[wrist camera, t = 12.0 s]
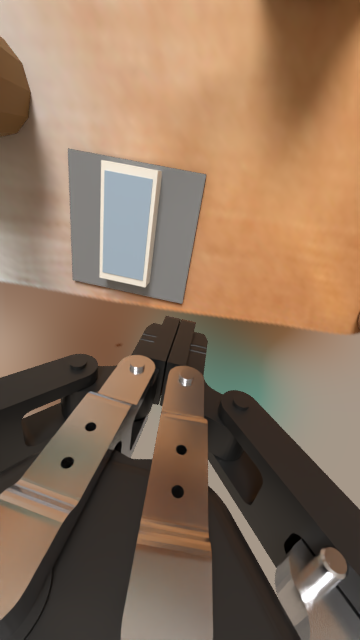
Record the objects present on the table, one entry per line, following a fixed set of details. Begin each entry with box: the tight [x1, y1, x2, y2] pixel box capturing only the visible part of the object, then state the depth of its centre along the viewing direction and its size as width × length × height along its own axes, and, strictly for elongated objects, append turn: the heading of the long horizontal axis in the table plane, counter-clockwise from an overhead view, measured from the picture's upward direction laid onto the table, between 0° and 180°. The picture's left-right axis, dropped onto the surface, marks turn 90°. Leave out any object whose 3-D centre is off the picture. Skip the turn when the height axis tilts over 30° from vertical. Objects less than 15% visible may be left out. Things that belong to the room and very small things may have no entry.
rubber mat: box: [68, 149, 206, 304], centre depth 38 cm, size 18×18×1 cm
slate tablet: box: [99, 160, 162, 287], centre depth 36 cm, size 7×3×15 cm
